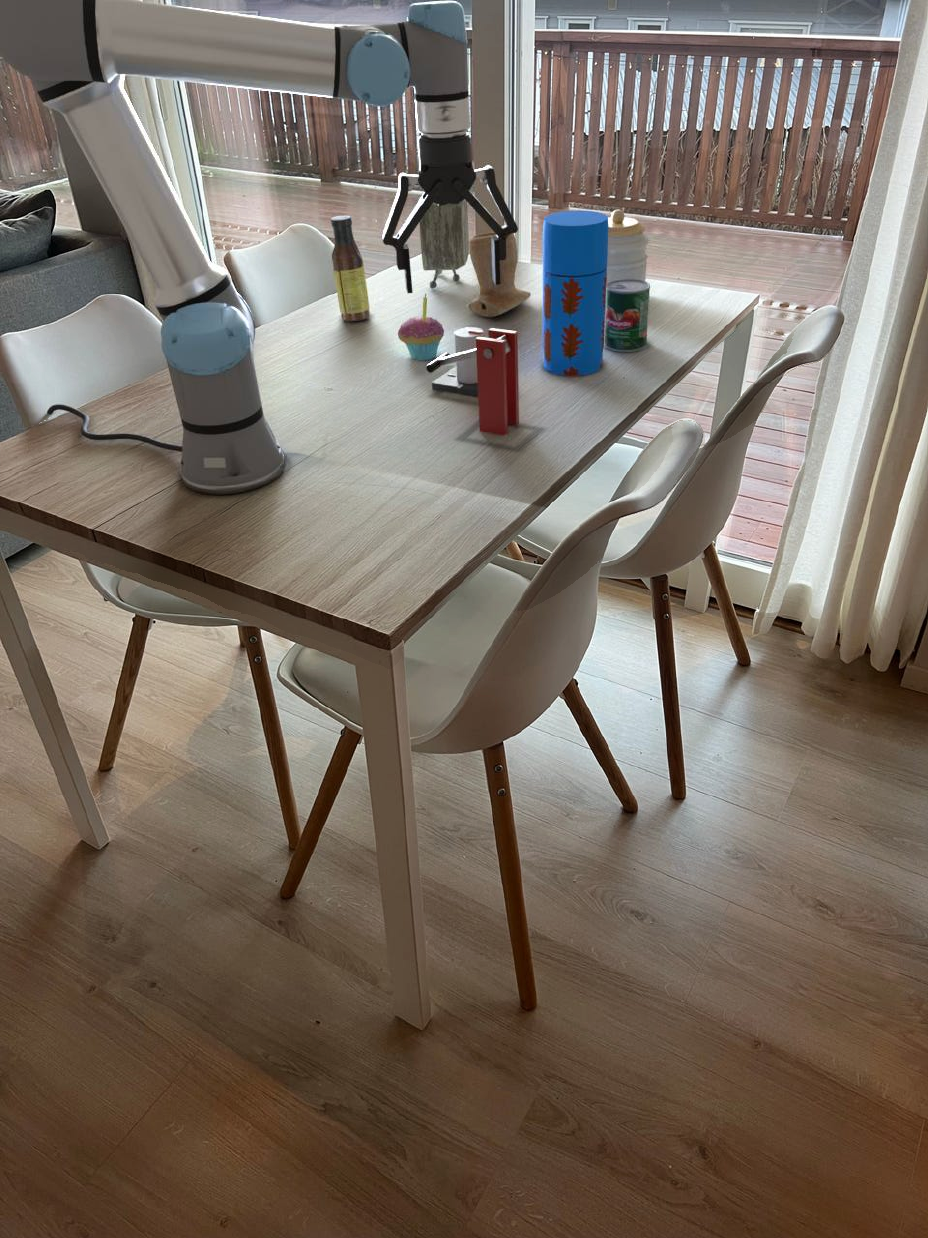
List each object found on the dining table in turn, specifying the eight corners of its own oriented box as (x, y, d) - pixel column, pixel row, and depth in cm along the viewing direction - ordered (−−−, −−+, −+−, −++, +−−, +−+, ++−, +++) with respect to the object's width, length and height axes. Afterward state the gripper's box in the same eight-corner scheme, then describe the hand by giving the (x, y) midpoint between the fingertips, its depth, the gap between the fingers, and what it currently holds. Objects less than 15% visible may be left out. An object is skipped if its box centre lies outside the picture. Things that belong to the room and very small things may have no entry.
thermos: (600, 377, 162) (606, 226, 147) (539, 375, 164) (539, 226, 149) (605, 354, 171) (611, 209, 156) (547, 353, 173) (547, 210, 158)
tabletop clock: (432, 272, 219) (424, 155, 204) (470, 271, 218) (465, 154, 203) (424, 291, 207) (415, 169, 192) (464, 290, 206) (458, 167, 191)
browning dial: (452, 381, 157) (449, 333, 152) (465, 371, 161) (463, 323, 156) (477, 385, 155) (474, 336, 150) (490, 375, 159) (488, 327, 154)
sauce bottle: (376, 315, 195) (365, 214, 184) (358, 324, 191) (346, 222, 180) (352, 311, 198) (340, 212, 187) (333, 320, 194) (320, 219, 183)
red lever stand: (459, 439, 145) (453, 339, 135) (483, 419, 150) (479, 322, 141) (517, 450, 141) (515, 348, 131) (539, 429, 146) (539, 330, 137)
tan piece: (489, 294, 203) (487, 221, 195) (537, 300, 198) (537, 226, 189) (452, 314, 193) (448, 239, 184) (502, 322, 188) (500, 245, 179)
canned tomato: (645, 337, 177) (649, 278, 171) (647, 351, 171) (651, 291, 164) (603, 337, 178) (605, 279, 171) (604, 352, 172) (606, 292, 165)
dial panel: (431, 397, 159) (430, 382, 157) (456, 378, 165) (455, 364, 163) (488, 407, 154) (487, 392, 152) (512, 387, 160) (511, 372, 159)
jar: (649, 306, 191) (655, 215, 181) (586, 309, 192) (588, 219, 181) (640, 287, 202) (645, 200, 191) (580, 290, 202) (582, 203, 192)
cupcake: (454, 354, 175) (451, 289, 168) (423, 367, 170) (417, 301, 163) (422, 344, 180) (417, 281, 173) (390, 357, 175) (384, 293, 168)
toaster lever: (429, 377, 143) (423, 362, 142) (446, 364, 146) (441, 350, 146) (499, 358, 135) (493, 343, 134) (515, 346, 139) (510, 330, 138)
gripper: (356, 144, 126) (374, 301, 139) (536, 129, 129) (537, 285, 141) (354, 135, 133) (371, 286, 145) (525, 121, 135) (527, 271, 147)
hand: (453, 286), depth 143 cm, fingers open, 13 cm apart
